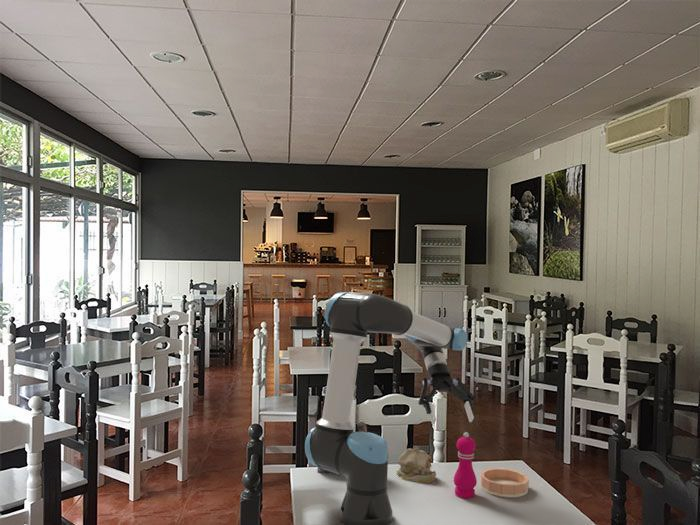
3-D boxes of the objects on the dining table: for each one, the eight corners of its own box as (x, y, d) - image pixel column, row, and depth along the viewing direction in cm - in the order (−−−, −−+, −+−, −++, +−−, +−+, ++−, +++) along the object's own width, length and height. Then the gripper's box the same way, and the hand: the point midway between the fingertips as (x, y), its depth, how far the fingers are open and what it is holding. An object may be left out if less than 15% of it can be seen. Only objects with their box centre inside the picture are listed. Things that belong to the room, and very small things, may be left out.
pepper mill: (450, 496, 191) (452, 433, 191) (456, 488, 197) (458, 427, 197) (473, 500, 188) (474, 437, 188) (478, 492, 194) (480, 431, 194)
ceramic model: (390, 477, 207) (391, 448, 207) (404, 467, 216) (404, 439, 216) (428, 485, 200) (429, 455, 200) (441, 475, 209) (441, 446, 209)
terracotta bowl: (473, 489, 197) (473, 477, 197) (491, 476, 209) (491, 465, 209) (518, 501, 188) (518, 488, 188) (534, 487, 200) (534, 475, 200)
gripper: (465, 373, 223) (483, 425, 208) (401, 374, 217) (415, 428, 202) (472, 361, 217) (490, 413, 203) (407, 362, 211) (421, 416, 197)
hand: (453, 421), depth 203 cm, fingers open, 13 cm apart
